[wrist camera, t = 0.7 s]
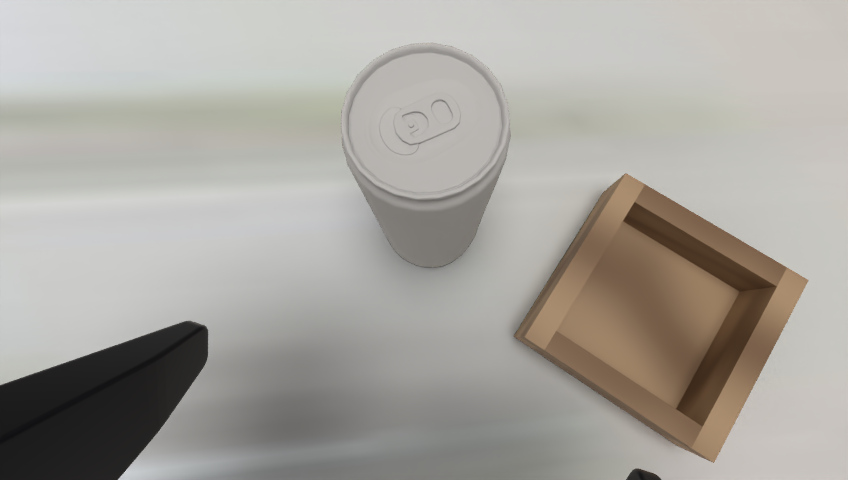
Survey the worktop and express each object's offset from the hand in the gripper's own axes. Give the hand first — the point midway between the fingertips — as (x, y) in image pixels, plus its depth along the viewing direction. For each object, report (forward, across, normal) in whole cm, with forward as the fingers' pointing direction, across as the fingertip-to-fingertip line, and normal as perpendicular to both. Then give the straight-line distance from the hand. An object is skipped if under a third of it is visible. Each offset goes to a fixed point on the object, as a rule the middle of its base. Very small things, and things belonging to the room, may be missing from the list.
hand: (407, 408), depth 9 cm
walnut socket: (+14, -9, +4) cm, 17 cm away
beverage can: (+15, +2, +3) cm, 15 cm away
